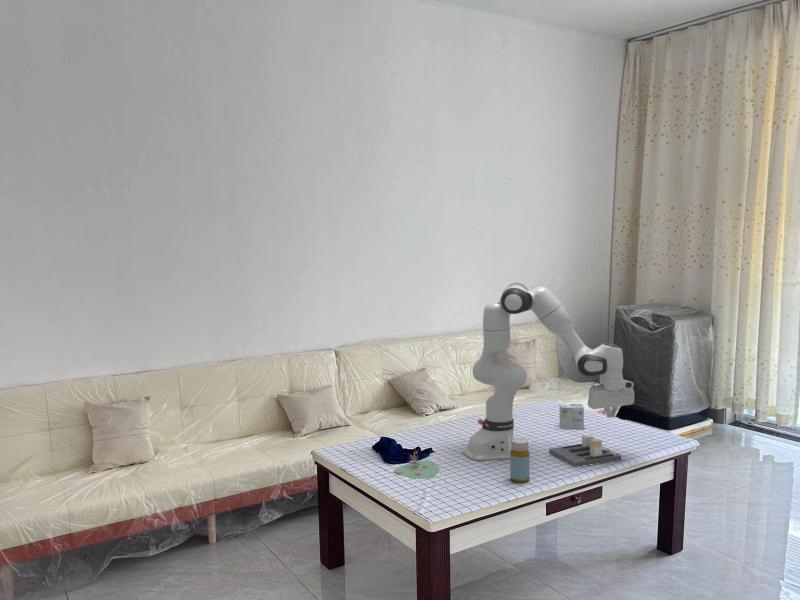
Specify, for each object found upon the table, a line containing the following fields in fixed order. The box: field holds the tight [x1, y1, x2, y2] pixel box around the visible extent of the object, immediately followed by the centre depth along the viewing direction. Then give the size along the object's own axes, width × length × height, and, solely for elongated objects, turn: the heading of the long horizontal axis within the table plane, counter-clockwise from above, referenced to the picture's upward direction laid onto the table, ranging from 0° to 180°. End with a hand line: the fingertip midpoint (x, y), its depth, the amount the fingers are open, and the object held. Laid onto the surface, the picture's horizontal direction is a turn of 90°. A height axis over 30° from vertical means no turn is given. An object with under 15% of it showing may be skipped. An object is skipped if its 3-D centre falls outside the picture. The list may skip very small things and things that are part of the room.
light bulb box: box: [559, 403, 585, 430], centre depth 300 cm, size 11×7×11 cm, turn 84°
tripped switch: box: [590, 443, 603, 457], centre depth 254 cm, size 4×3×4 cm
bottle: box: [509, 437, 530, 483], centre depth 235 cm, size 7×7×15 cm
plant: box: [393, 447, 440, 480], centre depth 246 cm, size 25×21×9 cm
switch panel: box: [548, 434, 622, 468], centre depth 259 cm, size 22×18×6 cm
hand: (610, 417), depth 255 cm, fingers closed
